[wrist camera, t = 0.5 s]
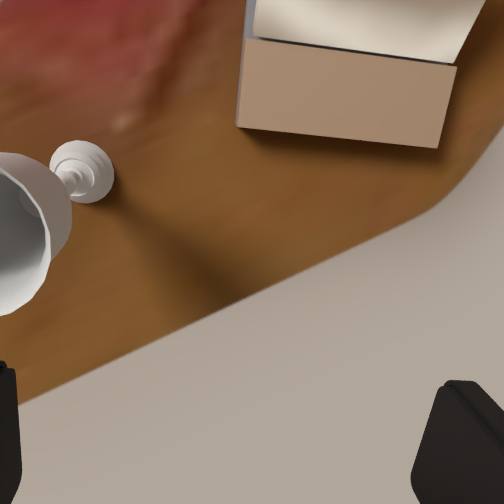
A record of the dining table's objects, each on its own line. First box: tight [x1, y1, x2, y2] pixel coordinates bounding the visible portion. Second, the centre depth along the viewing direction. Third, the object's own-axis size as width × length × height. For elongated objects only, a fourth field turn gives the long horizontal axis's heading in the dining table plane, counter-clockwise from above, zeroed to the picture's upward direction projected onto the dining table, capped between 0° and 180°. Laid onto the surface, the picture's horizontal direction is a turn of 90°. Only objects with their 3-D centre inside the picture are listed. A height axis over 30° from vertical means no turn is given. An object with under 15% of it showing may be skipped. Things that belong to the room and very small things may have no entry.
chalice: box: [0, 140, 114, 316], centre depth 26 cm, size 7×7×18 cm
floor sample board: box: [235, 0, 457, 148], centre depth 32 cm, size 16×16×3 cm
